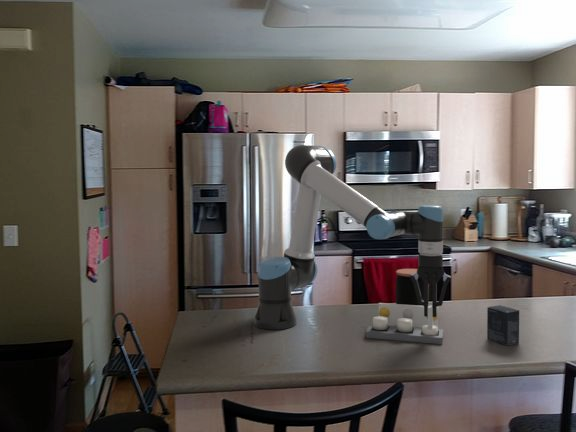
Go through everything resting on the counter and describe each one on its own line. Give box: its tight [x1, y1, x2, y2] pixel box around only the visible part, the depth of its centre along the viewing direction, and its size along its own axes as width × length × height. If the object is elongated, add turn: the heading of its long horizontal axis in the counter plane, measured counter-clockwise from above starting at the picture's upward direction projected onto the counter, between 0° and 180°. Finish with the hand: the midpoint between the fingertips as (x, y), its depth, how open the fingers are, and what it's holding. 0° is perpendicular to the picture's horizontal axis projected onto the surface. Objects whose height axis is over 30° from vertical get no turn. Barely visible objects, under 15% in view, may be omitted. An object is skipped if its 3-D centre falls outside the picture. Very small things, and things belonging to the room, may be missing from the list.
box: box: [486, 304, 520, 346], centre depth 163 cm, size 8×6×11 cm
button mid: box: [397, 318, 412, 332], centre depth 170 cm, size 5×5×3 cm
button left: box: [372, 315, 388, 330], centre depth 172 cm, size 5×5×3 cm
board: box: [365, 323, 444, 345], centre depth 170 cm, size 24×9×2 cm, turn 71°
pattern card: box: [378, 302, 439, 328], centre depth 179 cm, size 20×1×8 cm, turn 71°
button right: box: [422, 325, 439, 336], centre depth 167 cm, size 5×5×3 cm
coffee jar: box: [395, 268, 424, 306], centre depth 188 cm, size 11×11×18 cm
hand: (430, 326), depth 167 cm, fingers closed
